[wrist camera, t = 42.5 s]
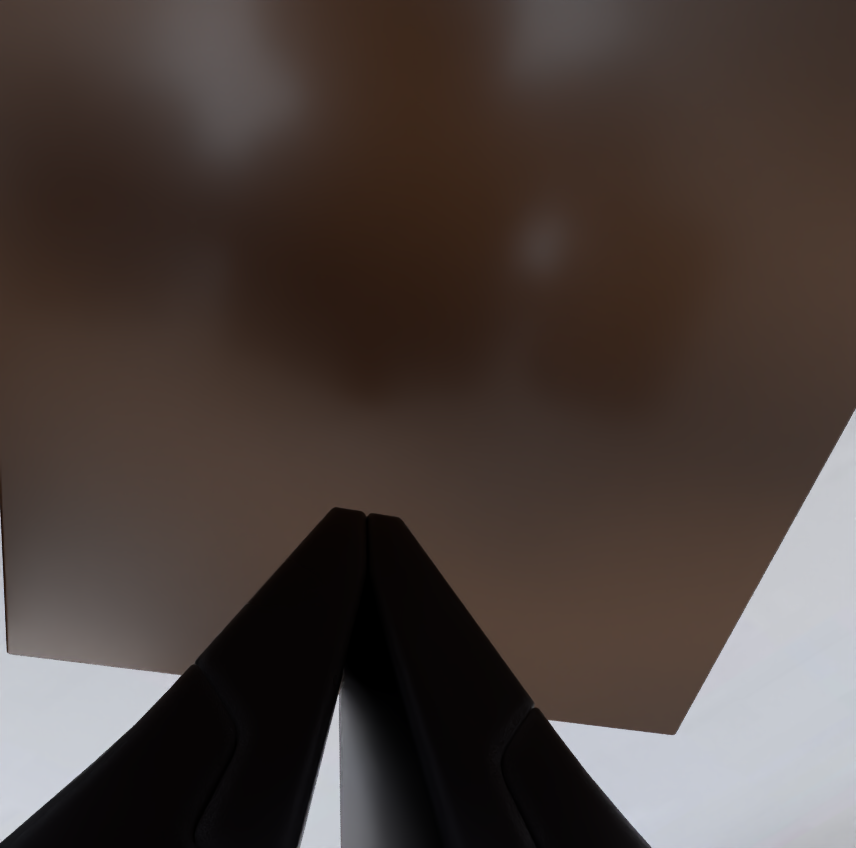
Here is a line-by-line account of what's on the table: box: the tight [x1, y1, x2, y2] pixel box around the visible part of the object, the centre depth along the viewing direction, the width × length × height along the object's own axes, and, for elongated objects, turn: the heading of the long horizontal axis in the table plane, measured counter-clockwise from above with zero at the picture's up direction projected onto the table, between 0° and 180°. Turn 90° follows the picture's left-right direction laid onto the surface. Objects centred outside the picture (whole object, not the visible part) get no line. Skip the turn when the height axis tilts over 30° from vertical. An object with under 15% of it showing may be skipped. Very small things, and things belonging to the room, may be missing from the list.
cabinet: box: [0, 0, 856, 735], centre depth 15 cm, size 15×13×11 cm
